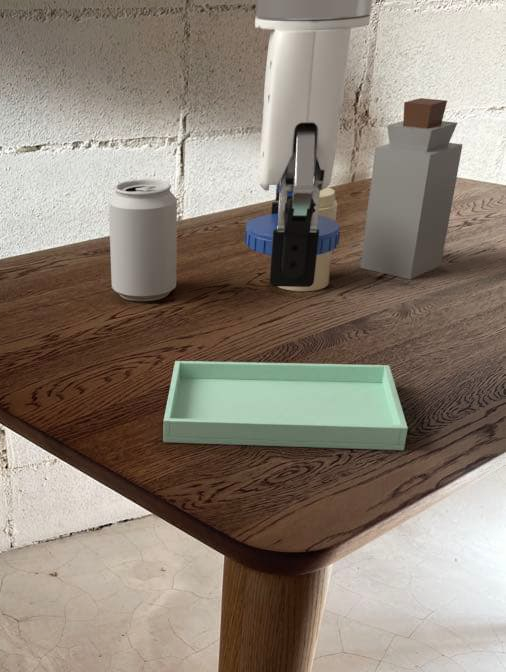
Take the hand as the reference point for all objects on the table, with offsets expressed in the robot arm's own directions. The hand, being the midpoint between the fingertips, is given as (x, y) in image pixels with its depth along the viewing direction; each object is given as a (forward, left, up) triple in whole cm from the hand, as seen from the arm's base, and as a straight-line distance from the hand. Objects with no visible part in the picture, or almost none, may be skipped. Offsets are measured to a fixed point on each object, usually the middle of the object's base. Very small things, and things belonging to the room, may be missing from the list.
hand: (289, 267), depth 68 cm
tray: (0, 0, -13) cm, 13 cm away
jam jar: (-3, -34, -13) cm, 36 cm away
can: (+15, -30, -13) cm, 36 cm away
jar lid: (0, 0, +3) cm, 3 cm away
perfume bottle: (-15, -40, -13) cm, 45 cm away
